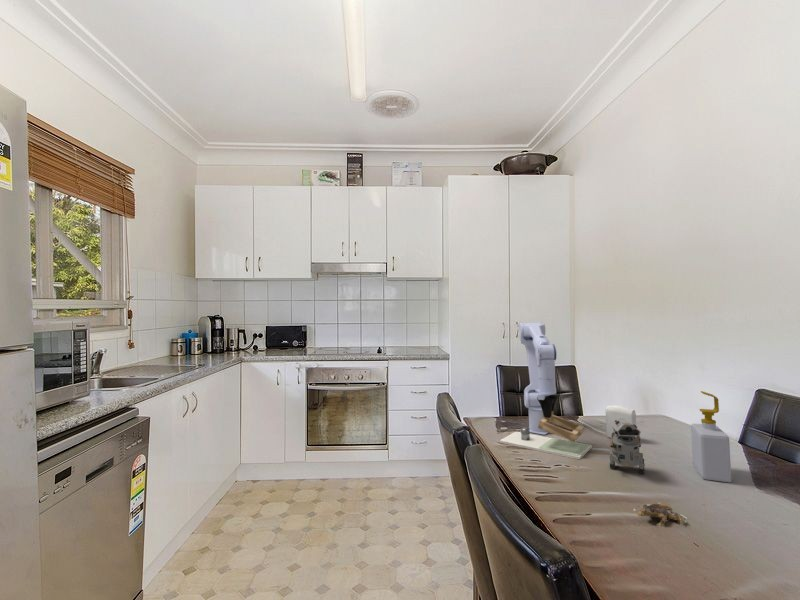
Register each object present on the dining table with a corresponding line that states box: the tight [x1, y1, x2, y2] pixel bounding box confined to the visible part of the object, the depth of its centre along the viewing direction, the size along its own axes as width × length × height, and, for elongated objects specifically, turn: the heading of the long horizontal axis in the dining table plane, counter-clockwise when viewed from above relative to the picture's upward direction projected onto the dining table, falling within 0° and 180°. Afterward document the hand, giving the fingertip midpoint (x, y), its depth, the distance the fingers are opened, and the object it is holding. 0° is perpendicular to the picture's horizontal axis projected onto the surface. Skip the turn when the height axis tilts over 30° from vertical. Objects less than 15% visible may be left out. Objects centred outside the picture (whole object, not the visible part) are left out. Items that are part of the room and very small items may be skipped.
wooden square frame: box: [538, 410, 585, 442], centre depth 139 cm, size 12×13×6 cm
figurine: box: [609, 419, 646, 475], centre depth 118 cm, size 9×12×15 cm
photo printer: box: [605, 404, 637, 439], centre depth 147 cm, size 10×4×12 cm, turn 39°
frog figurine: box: [633, 501, 688, 528], centre depth 91 cm, size 12×12×4 cm
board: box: [498, 431, 593, 460], centre depth 142 cm, size 14×28×1 cm, turn 49°
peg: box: [520, 426, 531, 441], centre depth 147 cm, size 3×3×4 cm
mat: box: [539, 437, 591, 456], centre depth 138 cm, size 13×13×1 cm
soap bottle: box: [690, 390, 732, 483], centre depth 115 cm, size 12×7×23 cm, turn 155°
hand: (548, 416), depth 142 cm, fingers closed on wooden square frame
